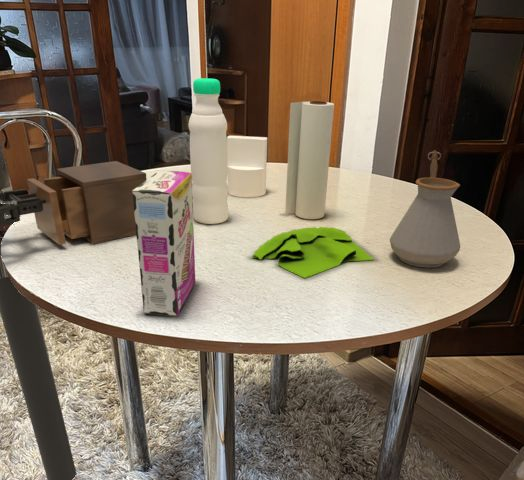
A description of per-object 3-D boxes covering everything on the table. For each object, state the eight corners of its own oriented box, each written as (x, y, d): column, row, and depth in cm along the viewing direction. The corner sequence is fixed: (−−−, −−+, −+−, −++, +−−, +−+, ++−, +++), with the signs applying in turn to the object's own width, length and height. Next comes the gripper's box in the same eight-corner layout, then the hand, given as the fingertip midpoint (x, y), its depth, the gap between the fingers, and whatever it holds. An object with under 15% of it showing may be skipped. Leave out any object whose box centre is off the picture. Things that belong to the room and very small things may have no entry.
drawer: (32, 250, 84) (19, 197, 79) (11, 233, 90) (-1, 182, 86) (116, 232, 92) (110, 183, 87) (92, 217, 99) (85, 171, 94)
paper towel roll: (329, 215, 107) (340, 102, 95) (314, 222, 103) (323, 105, 91) (300, 208, 110) (308, 98, 99) (284, 214, 106) (290, 101, 95)
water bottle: (235, 220, 102) (235, 79, 89) (207, 227, 98) (202, 81, 85) (213, 211, 107) (209, 76, 93) (186, 218, 102) (178, 78, 89)
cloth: (347, 229, 99) (349, 217, 98) (386, 275, 81) (389, 261, 80) (243, 232, 97) (243, 219, 95) (259, 280, 78) (259, 265, 77)
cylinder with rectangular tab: (268, 188, 124) (269, 135, 117) (263, 198, 116) (264, 142, 110) (231, 185, 124) (231, 133, 118) (224, 195, 117) (223, 140, 110)
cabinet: (92, 244, 89) (82, 182, 84) (66, 226, 97) (56, 168, 91) (151, 231, 96) (146, 173, 90) (123, 215, 103) (116, 160, 98)
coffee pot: (459, 276, 81) (483, 180, 73) (385, 267, 84) (401, 173, 76) (450, 233, 99) (468, 151, 91) (390, 227, 101) (402, 147, 93)
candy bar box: (179, 317, 68) (171, 192, 59) (143, 315, 68) (128, 190, 59) (198, 282, 77) (193, 170, 68) (165, 280, 77) (156, 168, 69)
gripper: (-82, 229, 83) (25, 211, 92) (-61, 256, 74) (55, 233, 83) (-98, 182, 79) (15, 168, 88) (-78, 204, 70) (46, 186, 79)
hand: (34, 199), depth 85 cm, fingers closed on drawer, 5 cm apart
